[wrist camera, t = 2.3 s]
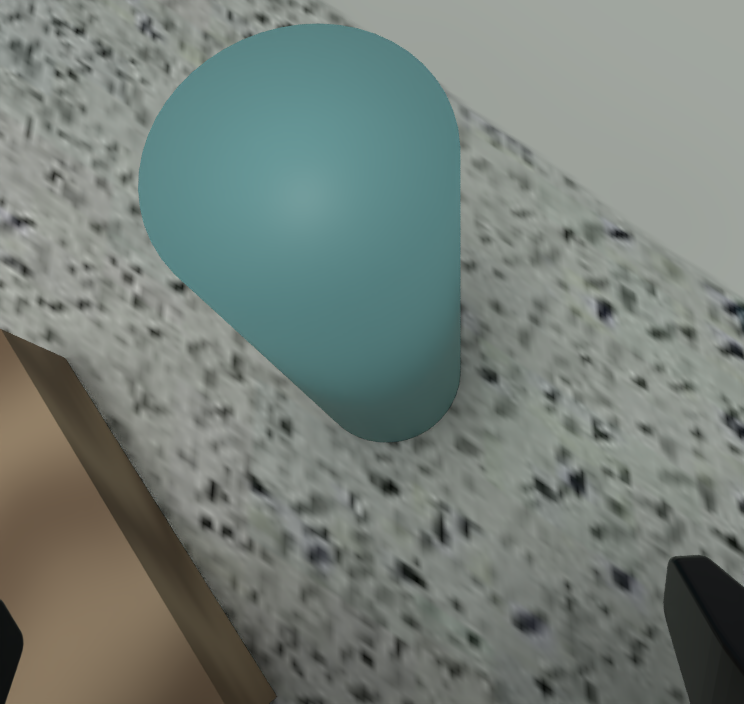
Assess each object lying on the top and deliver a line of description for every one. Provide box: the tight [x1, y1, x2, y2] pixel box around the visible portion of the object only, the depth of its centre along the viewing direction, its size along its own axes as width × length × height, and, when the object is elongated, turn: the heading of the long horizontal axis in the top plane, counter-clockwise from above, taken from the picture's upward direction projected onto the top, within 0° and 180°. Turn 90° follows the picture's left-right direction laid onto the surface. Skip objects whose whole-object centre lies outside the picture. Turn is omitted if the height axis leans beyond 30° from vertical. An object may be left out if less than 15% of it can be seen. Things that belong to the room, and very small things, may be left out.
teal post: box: [138, 24, 460, 442], centre depth 16 cm, size 5×5×13 cm
